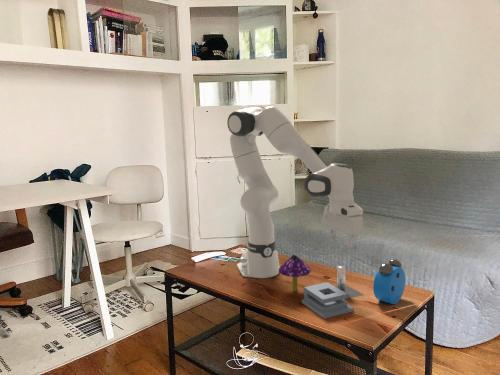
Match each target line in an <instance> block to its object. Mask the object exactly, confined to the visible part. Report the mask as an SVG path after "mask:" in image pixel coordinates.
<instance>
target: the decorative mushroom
mask: <svg viewBox="0 0 500 375" xmlns="http://www.w3.org/2000/svg"><path fill="white" fill-rule="evenodd" d="M311 272H312V269H311V267H310V266H309V265H308V264H307V263H306V262H305V261H304V260H303V259H301V258H300V257H299V256H298V255H297V254H292V255H291V256H290V257H289V258H288V259H286V261H285V262H283V263H282V264H281V265H280V268H279V274H281V275H282V276H286V277H291V278H292V281H291V282H292V284H291V286H292V292H293V293H297V292H298V291H299V290H298V277H305V276H308V275H309V274H310V273H311Z"/></svg>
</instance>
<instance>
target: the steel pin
mask: <svg viewBox="0 0 500 375" xmlns="http://www.w3.org/2000/svg"><path fill="white" fill-rule="evenodd" d="M336 267H337V268H336V269H337V271H336V272H337V274H336V275H337V276H336V277H337V278H336V281H337V283H336V284H337V285H336V286H337V288H338V289H340V290H342V291H344V292H345V284H346V266H345V265H337V266H336Z"/></svg>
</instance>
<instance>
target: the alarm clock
mask: <svg viewBox="0 0 500 375" xmlns="http://www.w3.org/2000/svg"><path fill="white" fill-rule="evenodd" d="M402 267H403V264H402V262H401V261H400V260H398V259H396V258H393V259H391V258H390V259H389V260H388V261H387V262H385V263H382V264H380V265H379V266H378V269H377V271H376V273H375V275H374V279H373V286H372V287H373V288H372V290H373V295H374V297H375V299H377V300H378V302H379V303H381V302H384V303H388V304H391V305H395V304H397V303H399V302H400V301H401V299H402V297H403V295H404V291H405V287H406V274H405V271H404V269H403V268H402Z"/></svg>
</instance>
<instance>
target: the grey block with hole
mask: <svg viewBox="0 0 500 375" xmlns="http://www.w3.org/2000/svg"><path fill="white" fill-rule="evenodd" d="M335 286H336V285H333V284H331V283H329V282H321V283H318V284H312V285H308V286H304V287H303V298H302V299H301V303H302V304H303V305H305V306H306V307H307V308H309V309H310V310H311V311H312V312H314V313H315V314H317V315H318V316H319V317H320V318H322V319H325V320H326V319H328V318H331V317H336V316H341V315H345V314H348V313H351V312H354V310H355V309H354V307H353V306H352V305H350V304H348V301H347V299H346V298H348V294H347V293H345V292H344V291H342V290H340V289H338V288H337V287H335ZM343 299H345V300H343Z"/></svg>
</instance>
